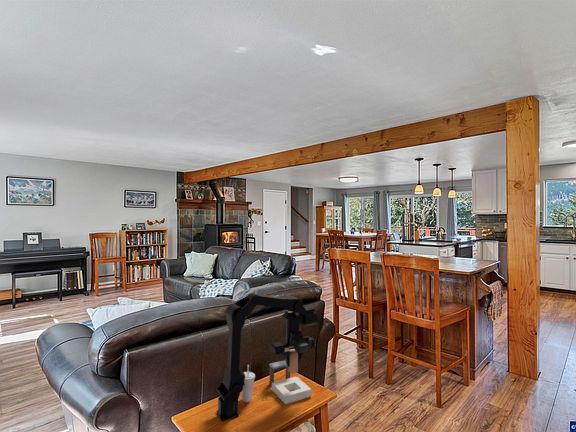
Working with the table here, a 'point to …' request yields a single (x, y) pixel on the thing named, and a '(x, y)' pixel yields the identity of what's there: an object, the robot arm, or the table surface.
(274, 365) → the grey arch
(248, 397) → the smoothie
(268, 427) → the table surface
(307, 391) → the socket board
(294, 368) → the peg
